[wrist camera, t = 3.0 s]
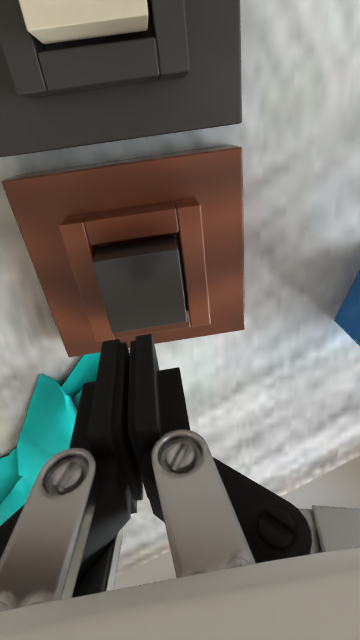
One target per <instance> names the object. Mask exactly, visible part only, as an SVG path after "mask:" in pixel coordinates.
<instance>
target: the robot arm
mask: <svg viewBox="0 0 360 640" xmlns="http://www.w3.org/2000/svg"><path fill="white" fill-rule="evenodd" d="M143 484H144V487H145V491H146V494H147V497H148V498H149V500H150V504H151V507H152V510H153V514H154V515H156V516H157V517H158V518H159V519H161V520H162V521H163V522H164V523H165V526H166V531H167V535H168V540H169V544H170V549H171V554H172V558H173V563H174V568H175V572H176V577H177V578H175V579H170V580H164V581H159V582H153V583H149V584H143V585H138V586H132V587H127V588H123V589H116V590H114V584H115V578H116V573H117V567H118V561H119V555H120V550H121V544H122V538H123V529H122V528H123V526H124V525H125V524H126V523H127V522H128V520H129V519H130V518H131V514H133V513H137V500H142V499H143ZM0 640H360V508H344V507H328V506H312V509H298V508H296V507H295V506H294V505H292V504H291V503H289V502H288V501H286V500H285V499H283V498H281V497H280V496H278V495H276V494H275V493H273V492H271V491H269V490H268V489H266V488H264V487H263V486H261V485H259V484H258V483H256V482H254V481H252V480H251V479H249V478H247V477H246V476H244V475H242V474H241V473H239V472H237V471H236V470H234V469H232V468H230V467H229V466H227V465H225V464H224V463H222V462H220V461H219V460H217V459H215V458H213V457H212V455H211V453H210V450H209V448H208V445H207V443H206V442H205V440H204V439H203V437H201V436H200V435H199V434H198V433H196V432H193V431H190V426H189V420H188V415H187V409H186V403H185V397H184V392H183V386H182V380H181V374H180V369H179V367H178V368H172V369H166V370H160V371H159V366H158V361H157V356H156V351H155V346H154V341H153V336H152V334H146V335H140V336H136V340H135V341H131V342H130V354H129V350H128V346H127V343H126V342H123V343H121V341H120V339H115V340H109V341H103V343H102V348H101V354H100V360H99V366H98V371H97V377H96V381H94V382H88V383H85V384H84V385H83V387H82V392H81V396H80V401H79V405H78V410H77V414H76V419H75V424H74V428H73V433H72V437H71V442H70V447H69V449H66V450H64V451H61V452H59V453H57V454H56V455H54V456H53V457H52V458H50V459H49V460H48V461H47V462H46V463H45V464H44V465H43V467H42V469H41V470H40V472H39V474H38V476H37V478H36V480H35V482H34V485H33V487H32V489H31V491H30V494H29V496H28V498H27V500H26V503H25V504H24V505H23V506H22V507H21V508H20V509H18V510H17V511H16V512H15V513H14V514H13V515H12V516H11V517H10V518H8V519H7V520H6V521H5V522H4V523H3V524H2V525H1V526H0Z"/></svg>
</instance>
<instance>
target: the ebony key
mask: <svg viewBox="0 0 360 640" xmlns="http://www.w3.org/2000/svg"><path fill="white" fill-rule="evenodd" d="M92 264H93V268H94V271H95V275H96V278H97V282H98V286H99V289H100V293H101V296H102V300H103V303H104V307H105V311H106V314H107V318H108V321H109V325H110V328H111V332H112V333H118V332H124V331H131V330H137V329H144V328H150V327H156V326H163V325H169V324H176V323H182V322H187V315H186V307H185V299H184V291H183V283H182V275H181V267H180V259H179V251H178V247H177V244H176V240H175V237H174V236H173V237H166V238H160V239H153V240H146V241H139V242H133V243H126V244H119V245H113V246H106V247H99V248H97V250H96V253H95V256H94V258H93V261H92Z"/></svg>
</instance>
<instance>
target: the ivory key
mask: <svg viewBox="0 0 360 640" xmlns="http://www.w3.org/2000/svg"><path fill="white" fill-rule="evenodd" d="M19 3H20V7H21V11H22V14H23V18H24V21H25V25H26V28H27V31H28V32H30V33H31V34H32V35H33V36H34V37H36V38H37V39H38V40H39V41H40V42H42V43H43V44H50V43H57V42H65V41H72V40H80V39H88V38H95V37H103V36H110V35H118V34H125V33H133V32H140V31H147V29H148V6H147V0H19Z"/></svg>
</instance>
